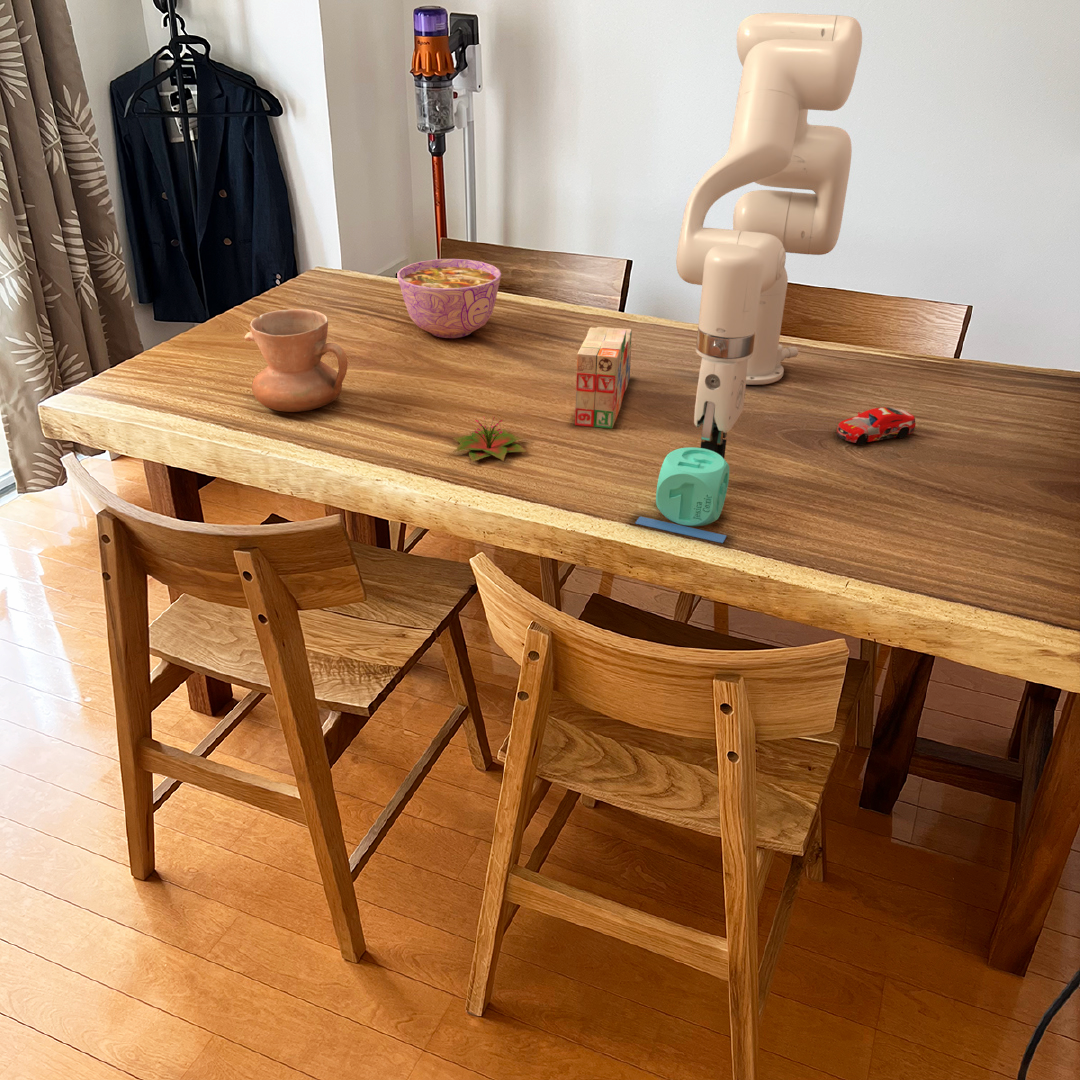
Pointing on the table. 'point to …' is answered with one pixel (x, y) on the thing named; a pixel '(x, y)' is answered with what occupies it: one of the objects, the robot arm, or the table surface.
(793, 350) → the robot arm
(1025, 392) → the table surface
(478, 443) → the lily flower
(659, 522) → the tape line
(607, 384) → the stack of blocks
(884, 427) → the race car
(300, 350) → the ceramic jug
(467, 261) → the bowl of food
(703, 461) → the decorative dice
